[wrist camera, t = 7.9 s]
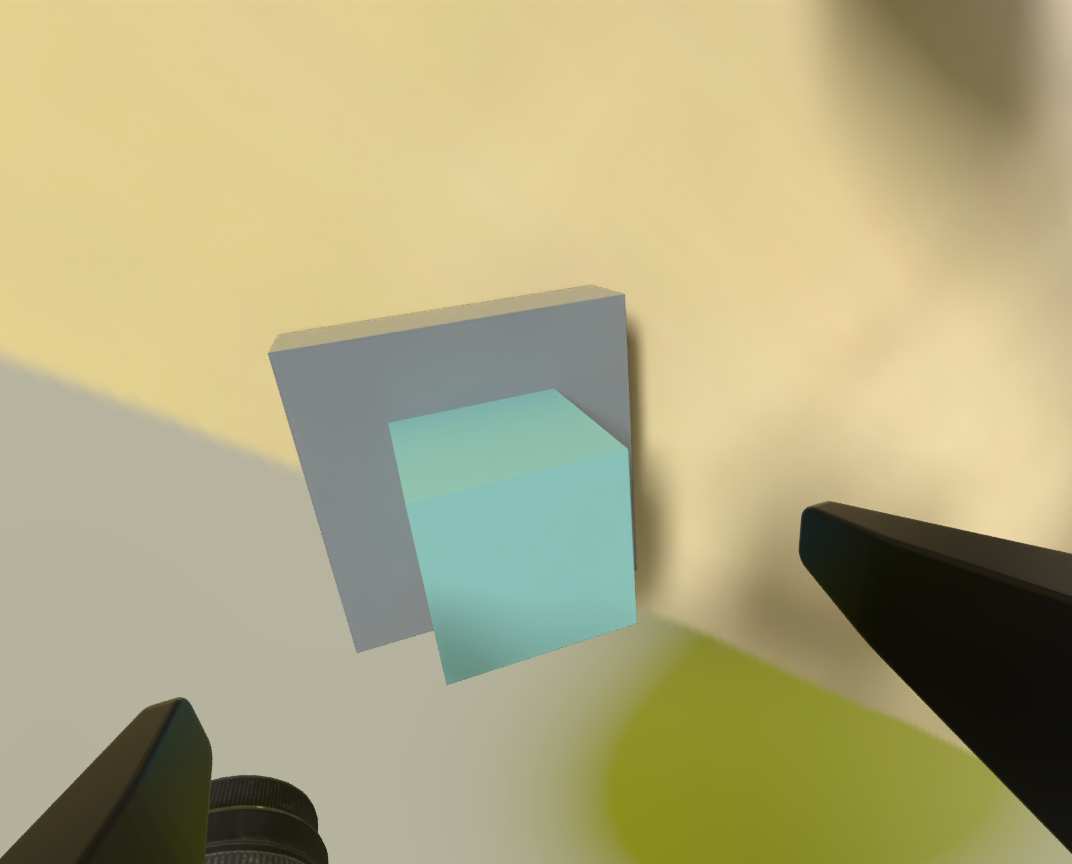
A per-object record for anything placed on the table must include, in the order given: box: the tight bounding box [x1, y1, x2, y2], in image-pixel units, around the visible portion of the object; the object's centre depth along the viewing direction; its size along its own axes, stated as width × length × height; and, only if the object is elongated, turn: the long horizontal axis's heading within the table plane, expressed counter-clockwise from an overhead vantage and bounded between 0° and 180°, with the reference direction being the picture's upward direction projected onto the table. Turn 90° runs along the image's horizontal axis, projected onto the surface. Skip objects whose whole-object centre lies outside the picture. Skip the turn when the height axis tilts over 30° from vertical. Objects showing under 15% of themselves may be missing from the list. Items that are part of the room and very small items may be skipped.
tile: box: [268, 285, 637, 653], centre depth 19 cm, size 10×10×2 cm
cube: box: [388, 389, 637, 685], centre depth 15 cm, size 5×5×5 cm
